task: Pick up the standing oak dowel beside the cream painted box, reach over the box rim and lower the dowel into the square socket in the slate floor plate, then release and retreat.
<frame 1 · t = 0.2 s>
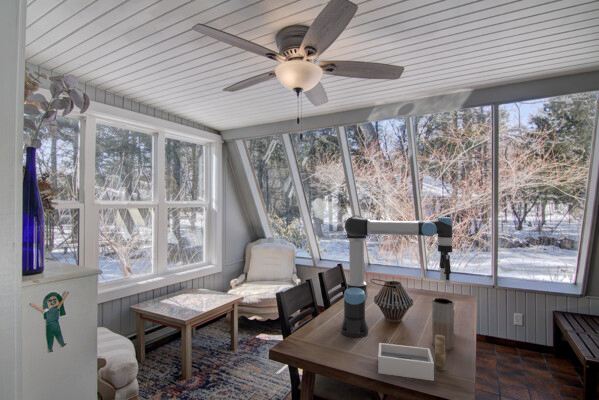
hand: (444, 282, 180), 28 cm above the table, fingers open, 13 cm apart
box: (404, 368, 140), on the table
dowel: (440, 368, 140), on the table
planter: (442, 346, 163), on the table
coffee cup: (447, 333, 179), on the table
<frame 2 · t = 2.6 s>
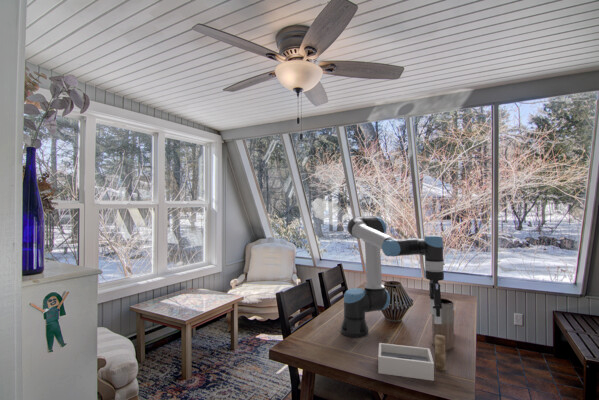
hand: (435, 318, 142), 21 cm above the table, fingers open, 13 cm apart
nothing on the table moved.
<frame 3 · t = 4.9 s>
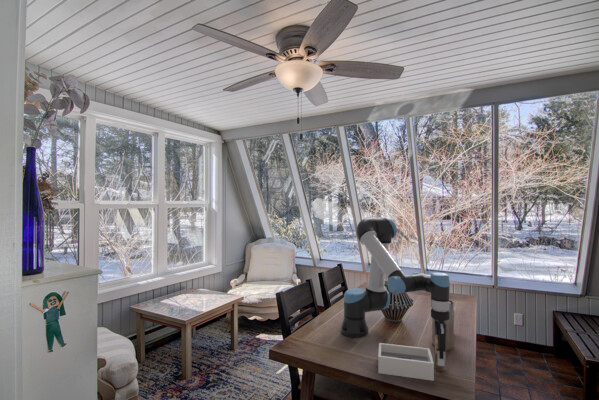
hand: (440, 362, 140), 3 cm above the table, fingers closed on dowel, 4 cm apart
dowel: (440, 368, 140), on the table, touching gripper
everything else where it was.
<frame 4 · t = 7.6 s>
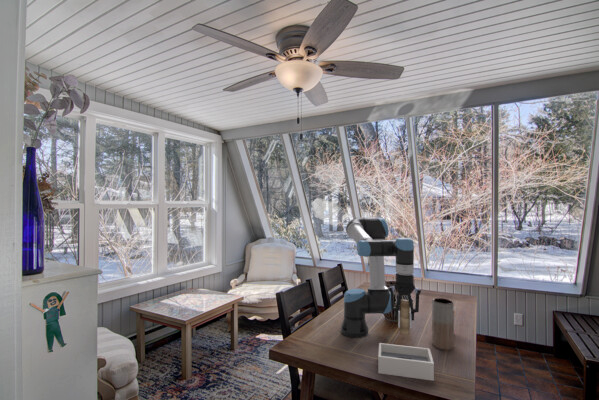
hand: (404, 326, 141), 18 cm above the table, fingers closed on dowel, 4 cm apart
dowel: (404, 332, 140), point 16 cm above the table, touching gripper
everything else where it was.
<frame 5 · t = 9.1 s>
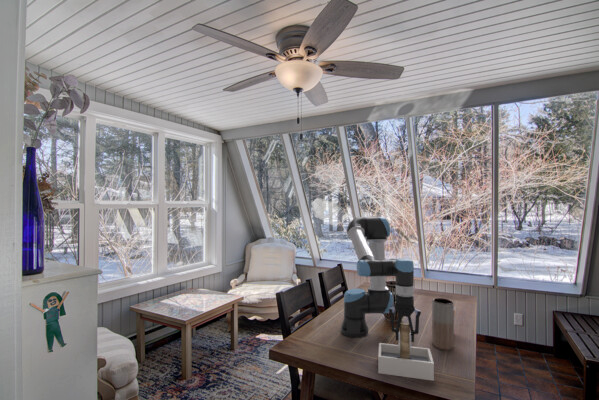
hand: (404, 348, 140), 9 cm above the table, fingers closed on dowel, 4 cm apart
dowel: (404, 356, 140), point 5 cm above the table, touching gripper
everything else where it was.
when the fingers open (5 cm above the table, at t = 10.2 s): dowel stays where it is, resting in box.
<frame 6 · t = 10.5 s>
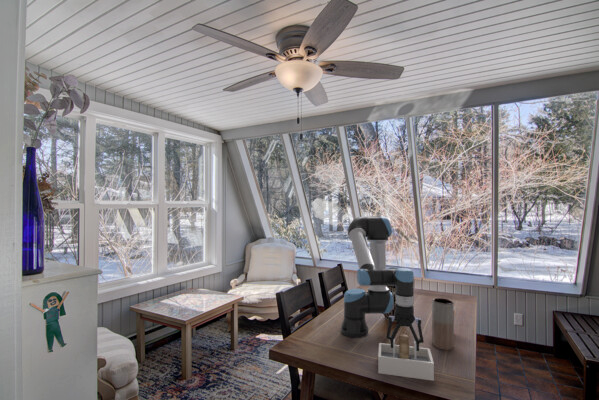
hand: (404, 356, 140), 5 cm above the table, fingers open, 8 cm apart
dowel: (404, 368, 140), resting in box
everything else where it was.
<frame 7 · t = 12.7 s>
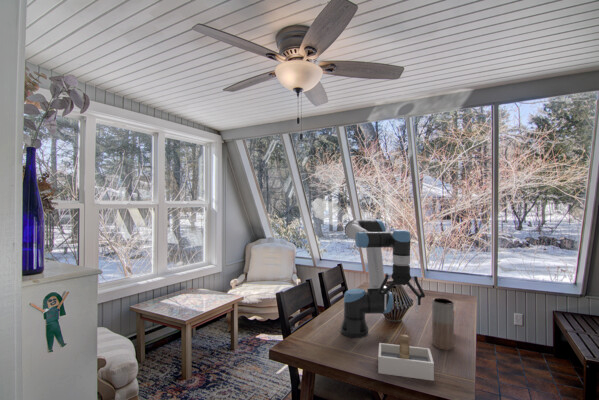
hand: (400, 310, 146), 23 cm above the table, fingers open, 13 cm apart
nothing on the table moved.
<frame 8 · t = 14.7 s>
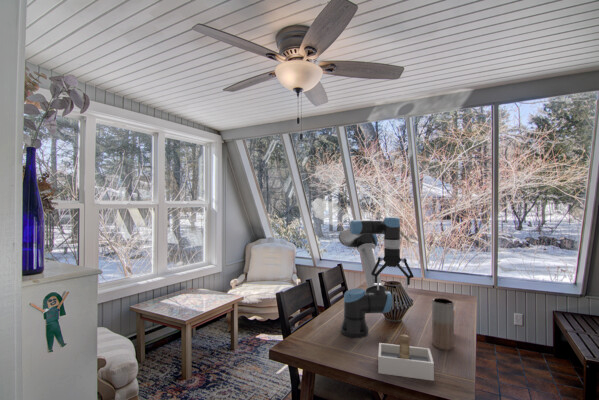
hand: (392, 290, 160), 29 cm above the table, fingers open, 13 cm apart
nothing on the table moved.
at the end: dowel 0.1 cm off-centre on the box, point 0.0 cm above the box's base; dowel tilted 0°; the gripper is holding nothing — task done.
